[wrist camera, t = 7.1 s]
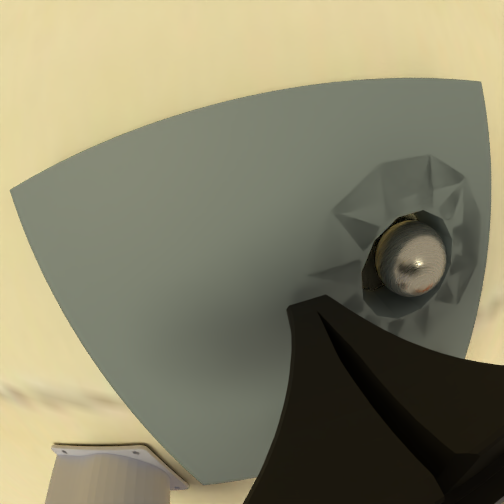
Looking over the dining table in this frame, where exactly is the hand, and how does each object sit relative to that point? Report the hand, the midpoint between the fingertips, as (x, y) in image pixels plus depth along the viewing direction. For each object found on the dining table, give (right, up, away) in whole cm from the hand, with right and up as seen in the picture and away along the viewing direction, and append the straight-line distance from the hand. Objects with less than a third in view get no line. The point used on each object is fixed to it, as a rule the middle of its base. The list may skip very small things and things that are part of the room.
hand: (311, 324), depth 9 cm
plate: (+1, -1, +4) cm, 5 cm away
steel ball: (+5, +2, +2) cm, 6 cm away
